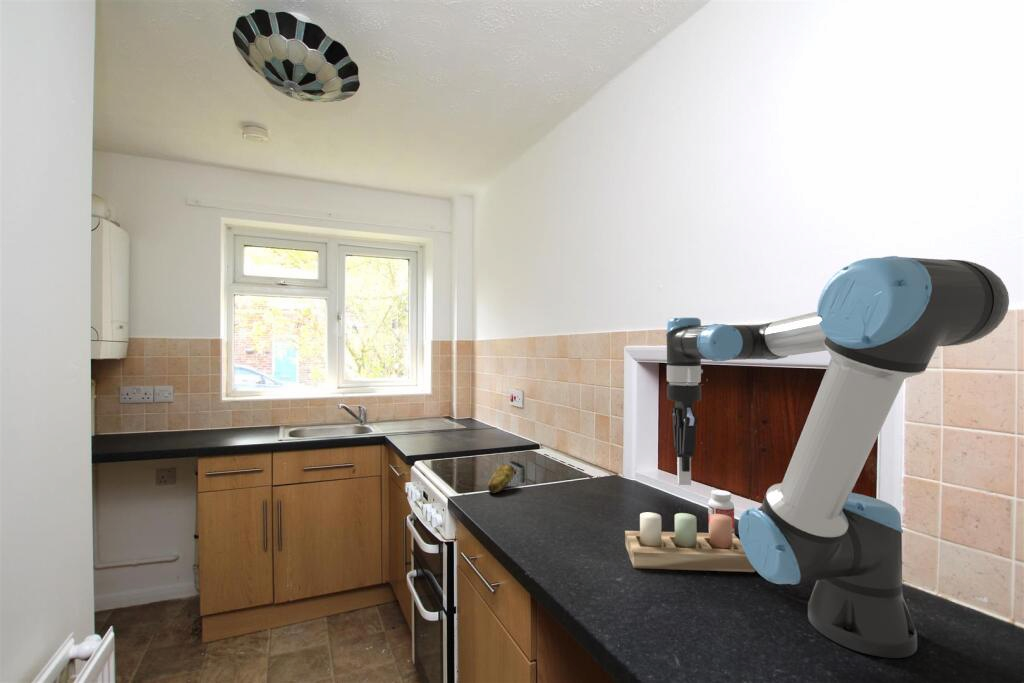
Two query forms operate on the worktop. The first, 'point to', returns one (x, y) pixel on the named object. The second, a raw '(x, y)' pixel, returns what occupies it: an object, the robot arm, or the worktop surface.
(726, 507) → the pill bottle
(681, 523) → the button green
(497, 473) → the potato
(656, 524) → the button cream
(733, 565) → the board
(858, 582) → the robot arm
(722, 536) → the button terracotta
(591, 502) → the worktop surface
